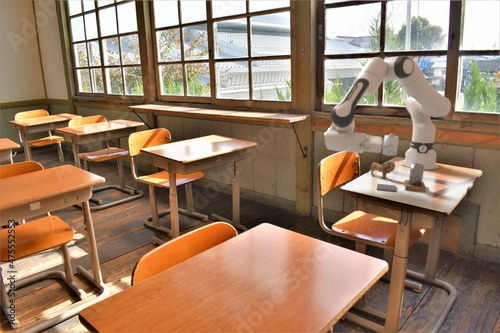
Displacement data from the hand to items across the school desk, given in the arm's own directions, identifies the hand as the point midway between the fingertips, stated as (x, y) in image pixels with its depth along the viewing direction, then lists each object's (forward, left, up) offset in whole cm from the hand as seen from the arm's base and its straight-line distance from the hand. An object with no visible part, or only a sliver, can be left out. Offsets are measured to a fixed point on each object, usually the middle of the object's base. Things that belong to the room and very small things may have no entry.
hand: (392, 145), depth 166 cm
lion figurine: (-19, -4, -20) cm, 27 cm away
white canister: (0, -1, -4) cm, 4 cm away
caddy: (-6, +11, -20) cm, 23 cm away
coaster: (0, -1, -20) cm, 20 cm away
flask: (-4, +11, -18) cm, 21 cm away
